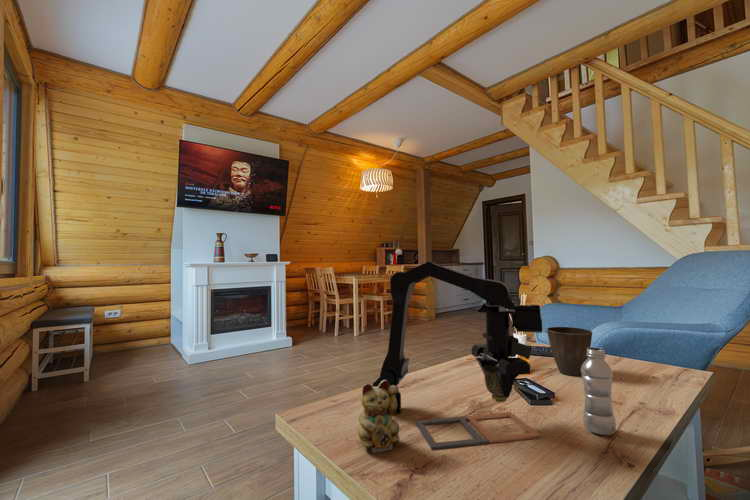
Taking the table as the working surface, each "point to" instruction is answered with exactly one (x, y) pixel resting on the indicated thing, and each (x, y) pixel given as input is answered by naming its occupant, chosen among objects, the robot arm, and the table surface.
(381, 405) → the decorative figurine
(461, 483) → the table surface
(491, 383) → the dark ridged bell shape
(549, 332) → the plant pot
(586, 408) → the plastic bottle
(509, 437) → the rectangular frame
